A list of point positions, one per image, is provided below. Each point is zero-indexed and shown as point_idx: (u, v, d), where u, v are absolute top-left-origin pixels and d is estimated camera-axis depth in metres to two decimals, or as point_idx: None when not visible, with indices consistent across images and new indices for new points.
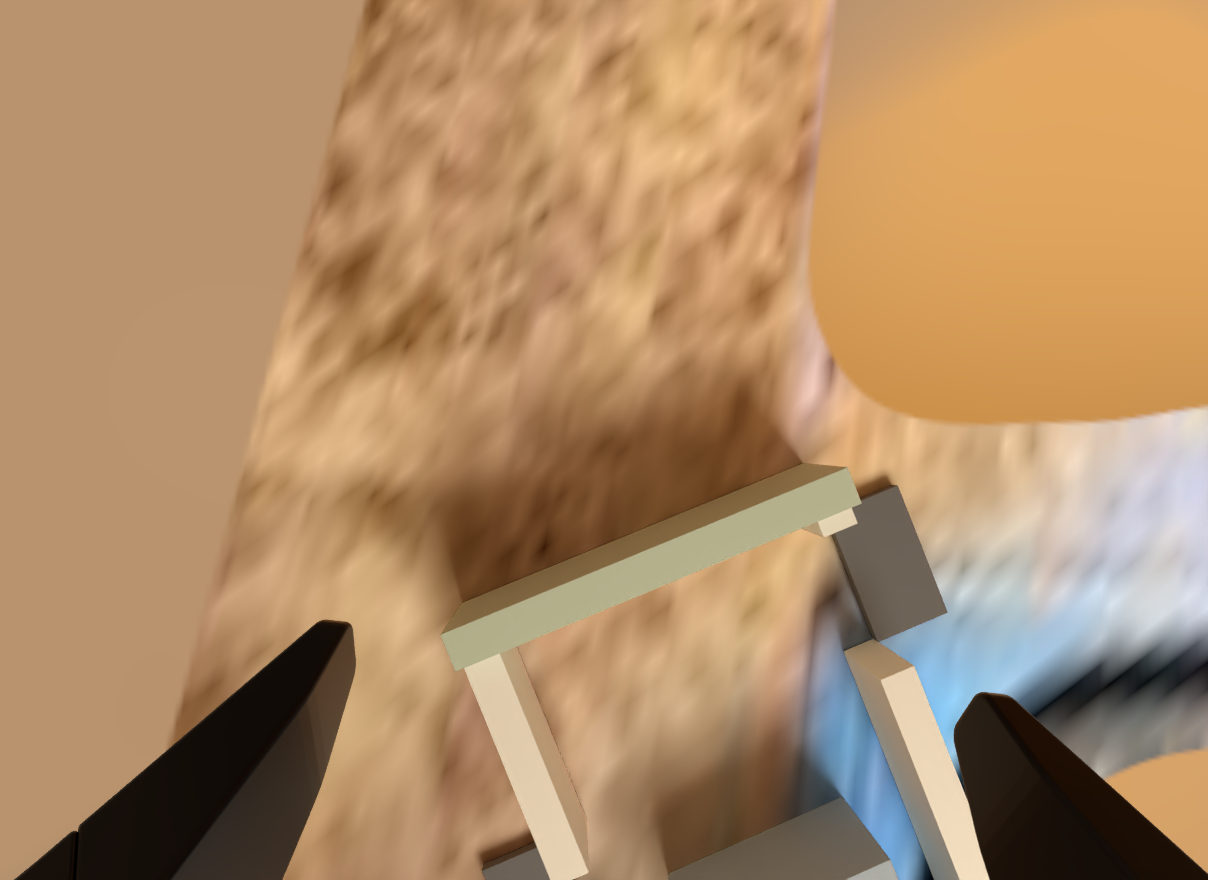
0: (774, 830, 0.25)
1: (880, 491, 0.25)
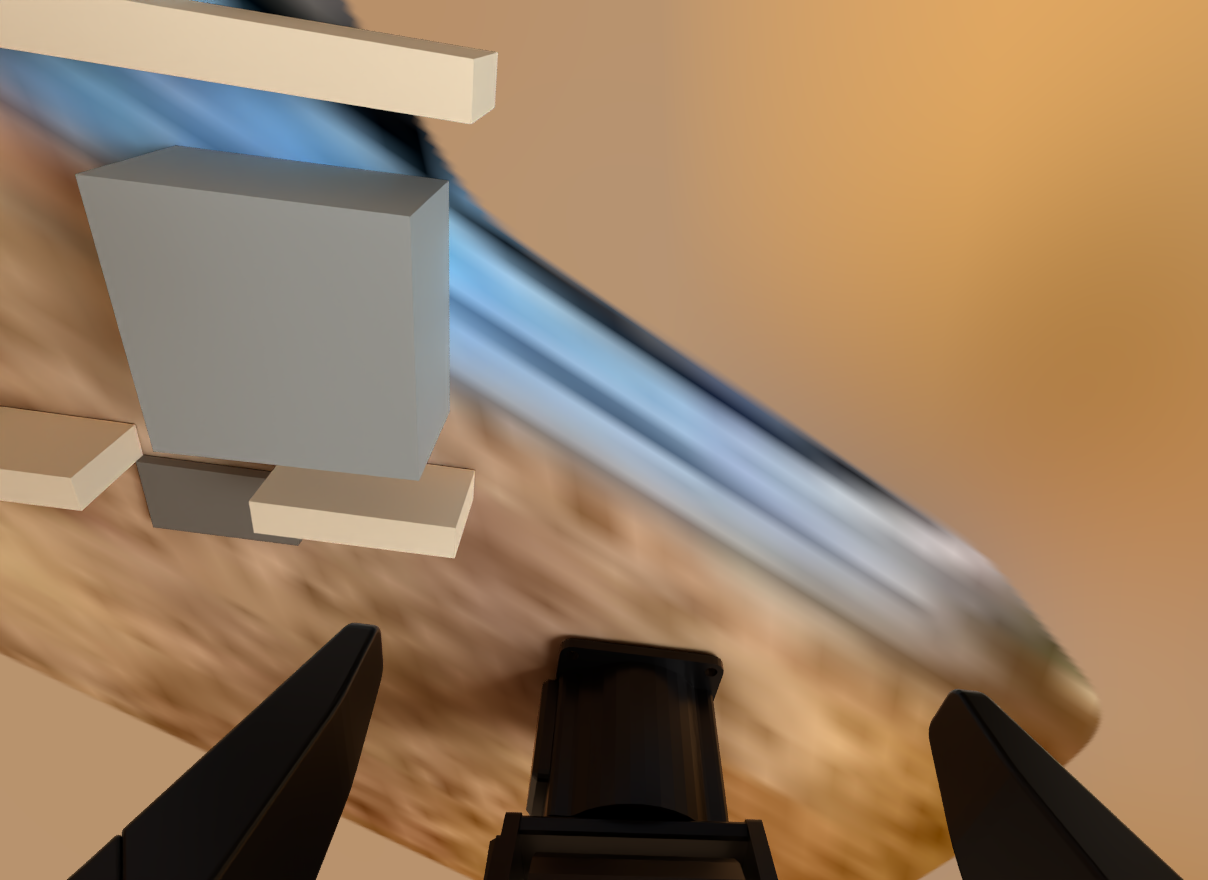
0: None
1: None
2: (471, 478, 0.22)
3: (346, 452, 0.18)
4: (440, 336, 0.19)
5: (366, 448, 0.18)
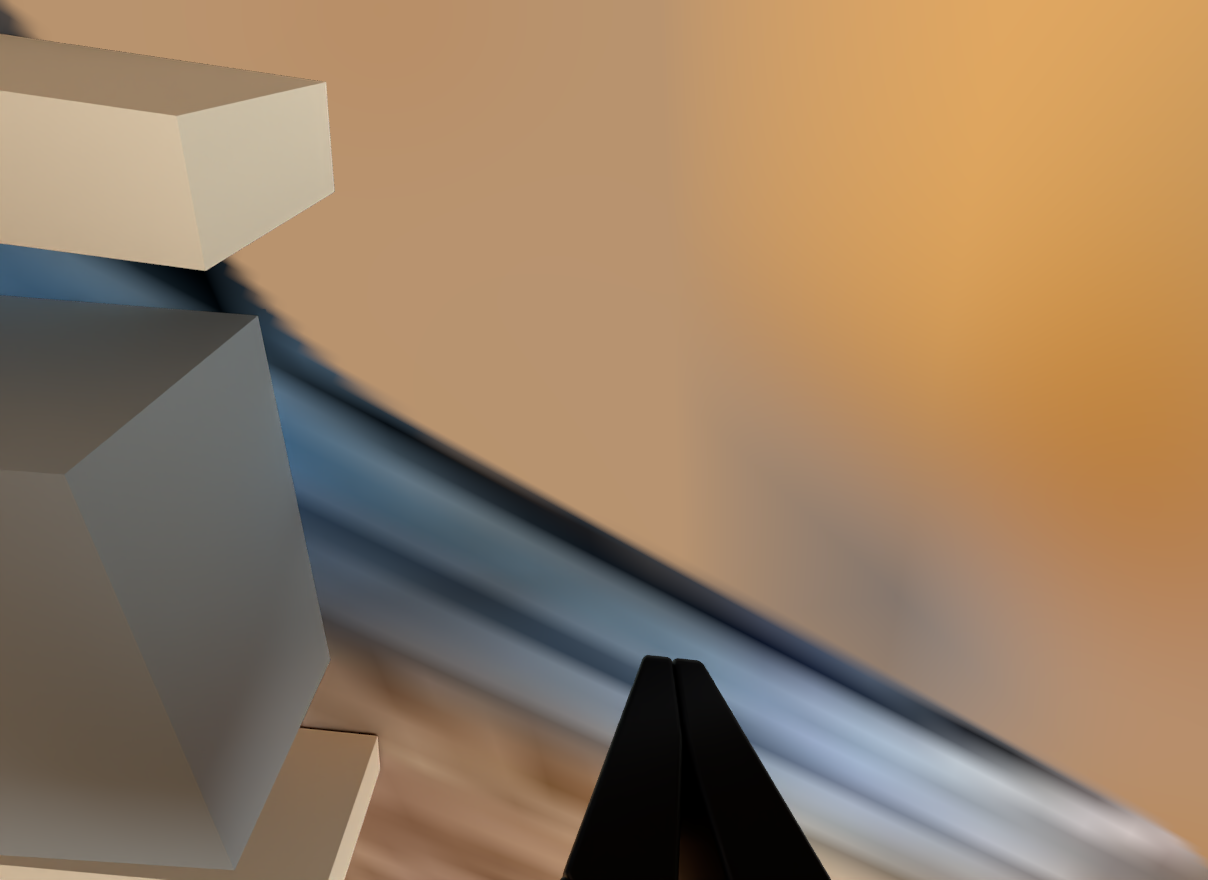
0: None
1: None
2: (369, 756, 0.14)
3: (87, 837, 0.09)
4: (275, 584, 0.10)
5: (123, 830, 0.09)
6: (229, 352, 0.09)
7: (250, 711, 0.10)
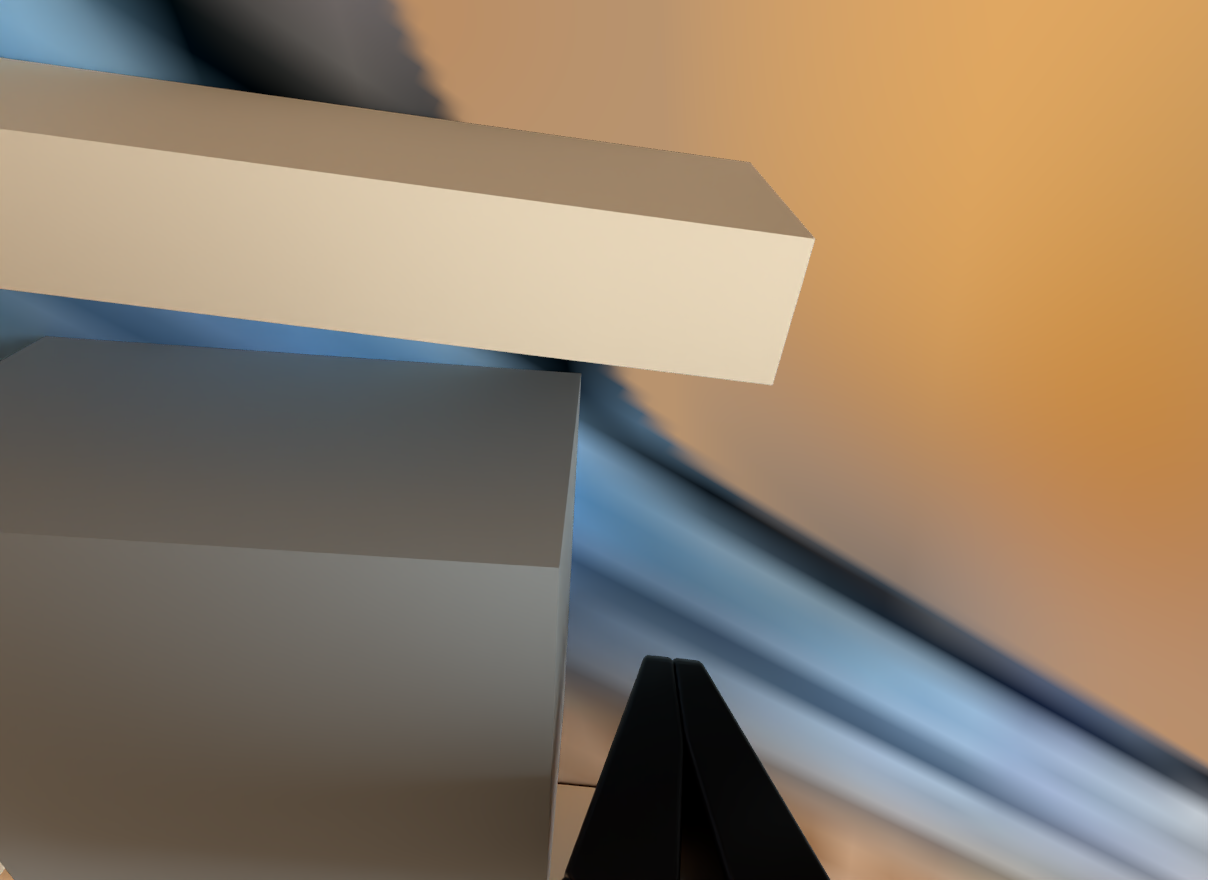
0: None
1: None
2: None
3: None
4: (565, 641, 0.10)
5: None
6: (576, 413, 0.08)
7: (555, 774, 0.10)
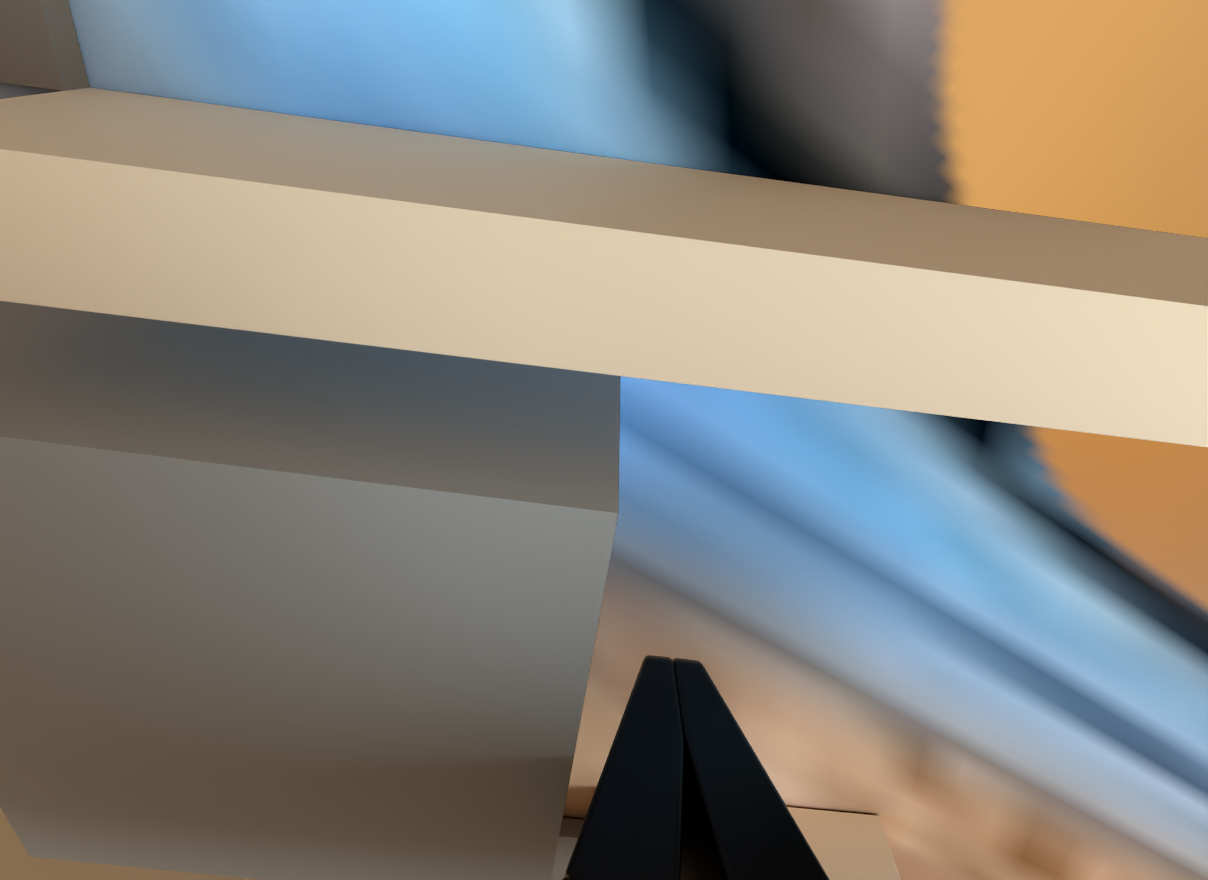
0: None
1: None
2: (886, 838, 0.14)
3: (410, 869, 0.09)
4: None
5: (450, 863, 0.09)
6: None
7: None
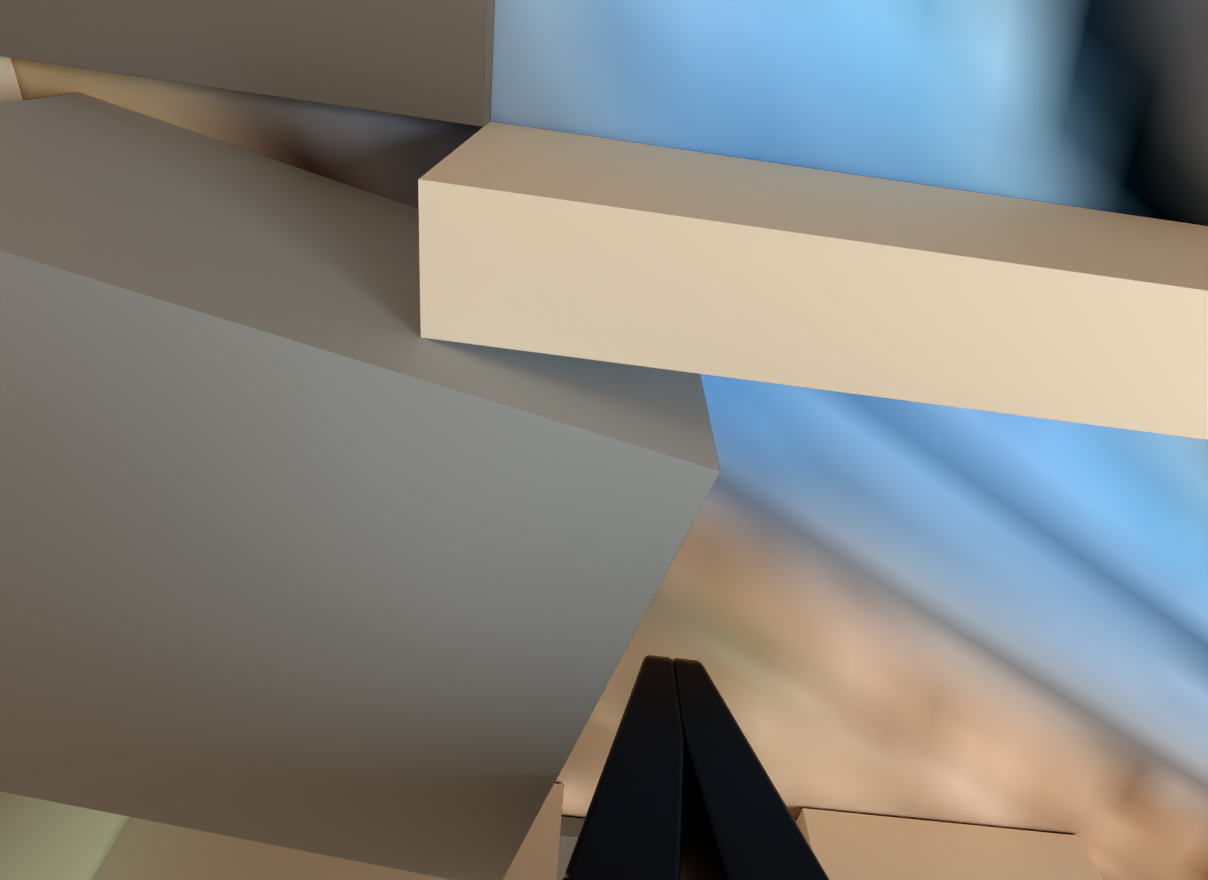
0: None
1: None
2: (1090, 858, 0.14)
3: (360, 834, 0.08)
4: None
5: (406, 833, 0.08)
6: None
7: None
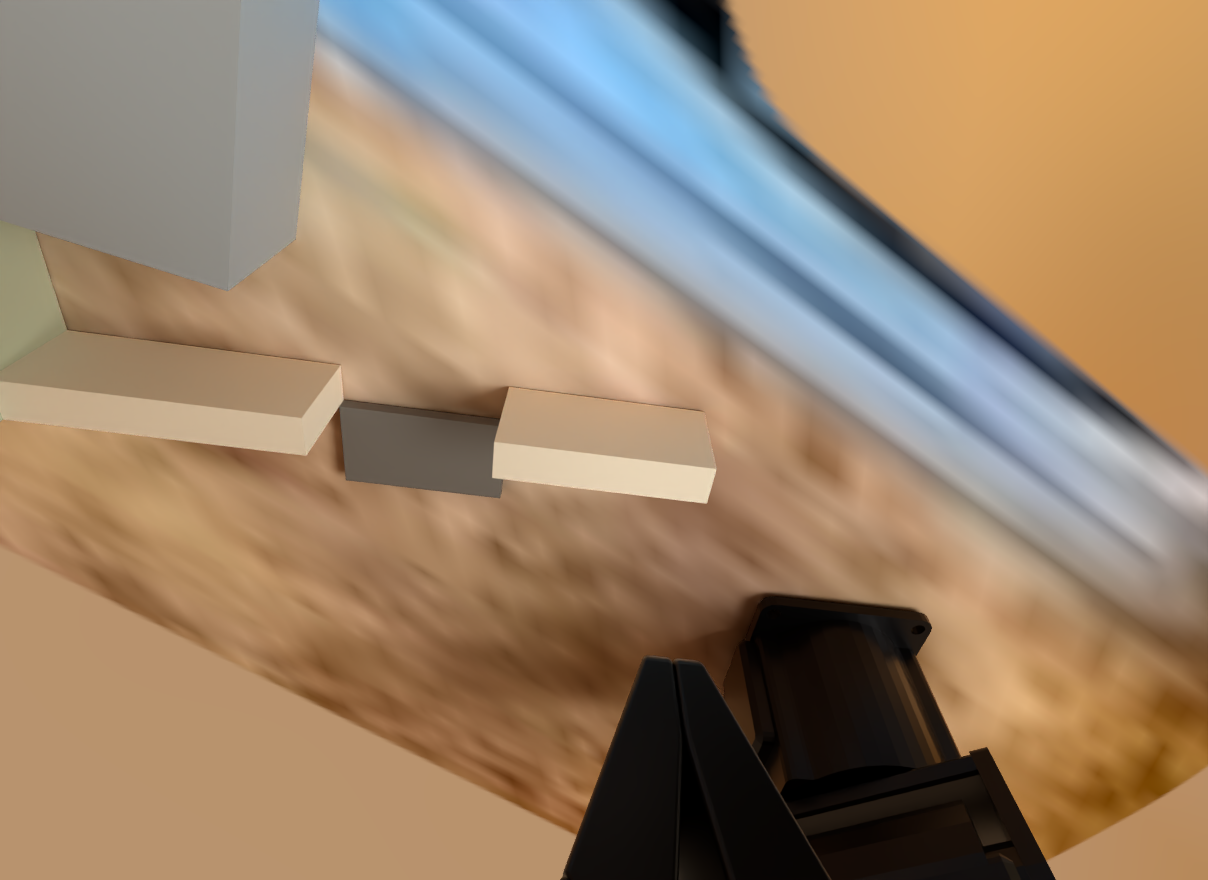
0: None
1: None
2: (705, 419, 0.20)
3: (136, 234, 0.14)
4: (288, 128, 0.16)
5: (163, 234, 0.14)
6: None
7: (259, 195, 0.15)
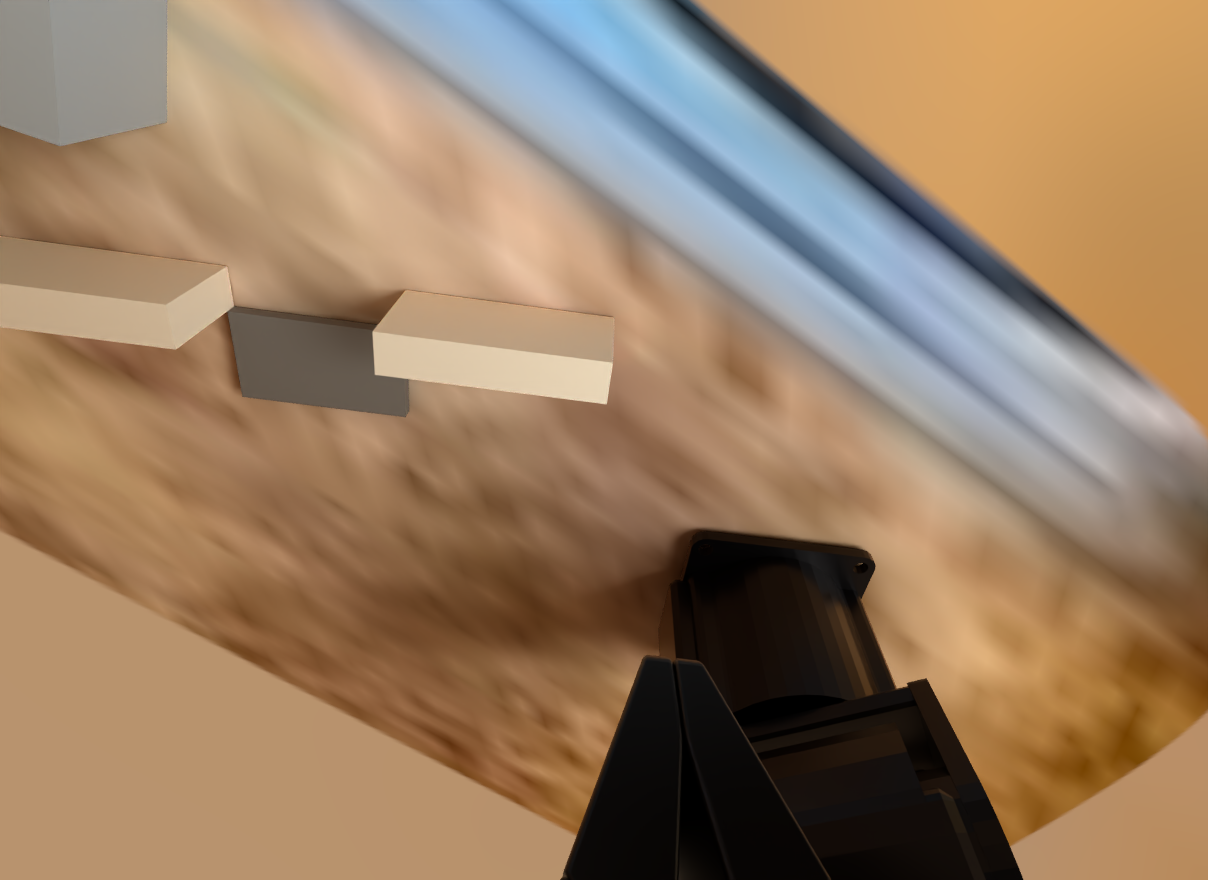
0: None
1: None
2: (613, 324, 0.19)
3: None
4: None
5: None
6: None
7: (97, 46, 0.14)
